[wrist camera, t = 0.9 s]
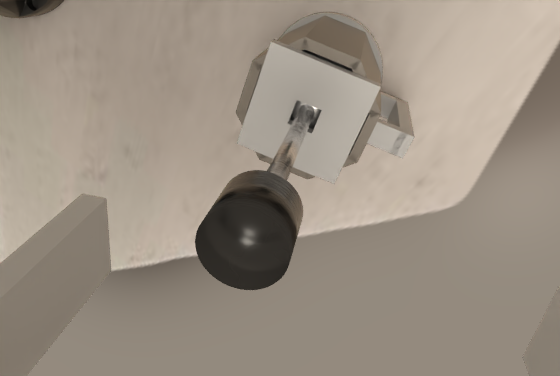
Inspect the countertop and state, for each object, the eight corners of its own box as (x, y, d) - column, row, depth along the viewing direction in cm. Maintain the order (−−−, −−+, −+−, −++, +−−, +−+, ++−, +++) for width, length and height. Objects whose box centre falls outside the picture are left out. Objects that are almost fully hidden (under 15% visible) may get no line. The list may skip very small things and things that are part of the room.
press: (258, 99, 52) (212, 152, 38) (294, -7, 47) (257, 10, 32) (377, 148, 52) (376, 221, 38) (428, 49, 47) (449, 90, 32)
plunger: (248, 132, 39) (138, 281, 21) (279, 44, 35) (177, 134, 17) (333, 168, 39) (295, 347, 21) (373, 83, 35) (367, 212, 17)
